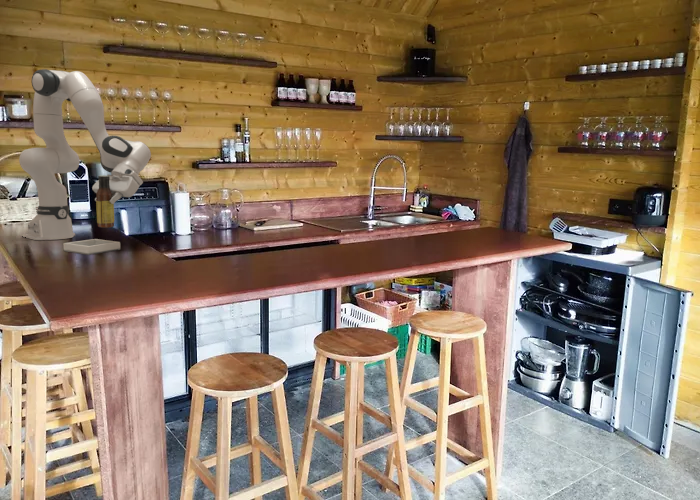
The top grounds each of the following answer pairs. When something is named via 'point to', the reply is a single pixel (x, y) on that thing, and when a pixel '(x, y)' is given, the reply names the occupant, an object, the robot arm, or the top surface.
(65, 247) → the tray
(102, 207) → the sauce bottle
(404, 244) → the top surface
